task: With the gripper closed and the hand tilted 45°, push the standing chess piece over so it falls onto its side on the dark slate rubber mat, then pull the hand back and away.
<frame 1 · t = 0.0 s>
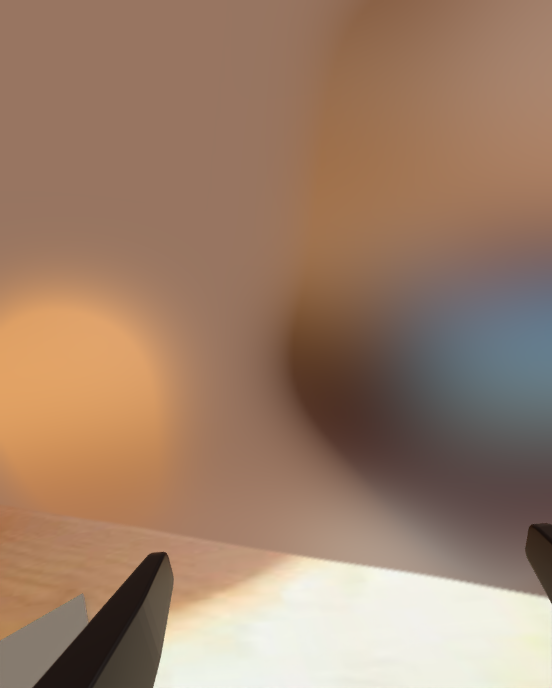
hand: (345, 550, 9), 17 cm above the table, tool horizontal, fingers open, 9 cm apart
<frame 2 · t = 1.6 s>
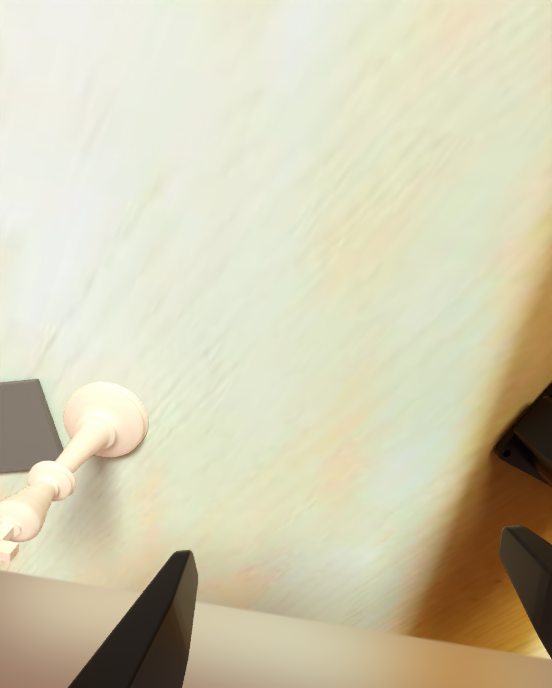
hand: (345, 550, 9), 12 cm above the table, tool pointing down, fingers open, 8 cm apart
chess piece: (110, 416, 22), on the table
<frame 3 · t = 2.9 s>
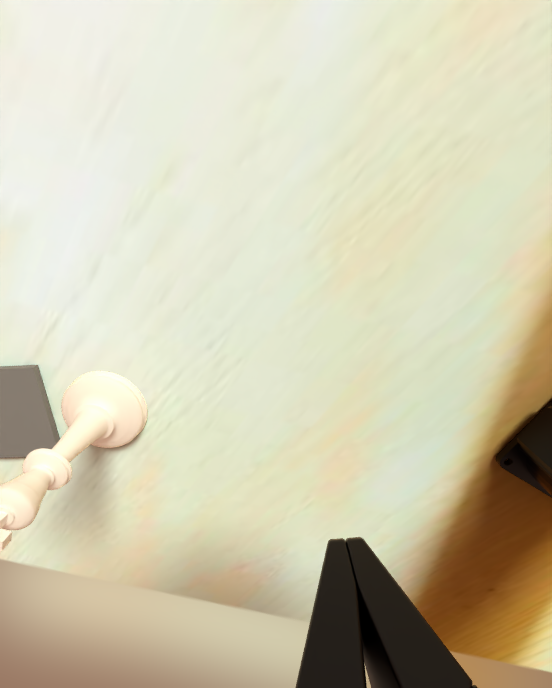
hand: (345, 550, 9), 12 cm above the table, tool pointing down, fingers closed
chess piece: (109, 406, 21), on the table
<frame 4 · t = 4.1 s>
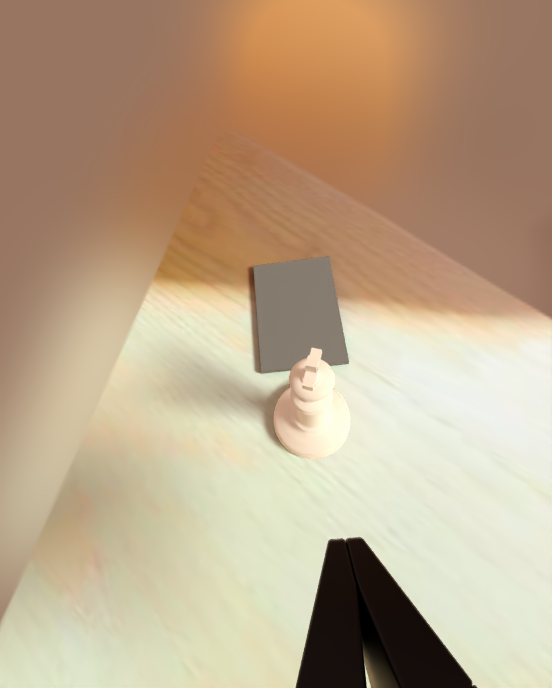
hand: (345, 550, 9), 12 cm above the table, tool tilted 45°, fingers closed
chess piece: (311, 419, 23), on the table
slate mat: (297, 312, 26), on the table
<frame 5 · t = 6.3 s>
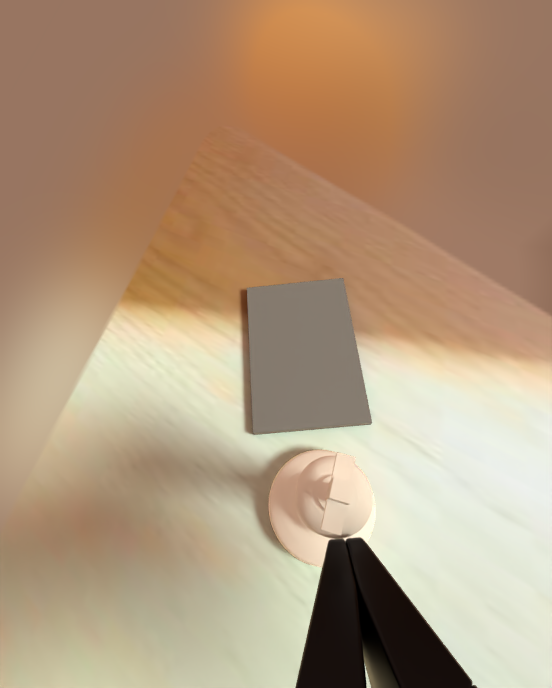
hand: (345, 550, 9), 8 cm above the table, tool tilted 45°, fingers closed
chess piece: (320, 504, 16), on the table, touching gripper
slate mat: (302, 350, 20), on the table
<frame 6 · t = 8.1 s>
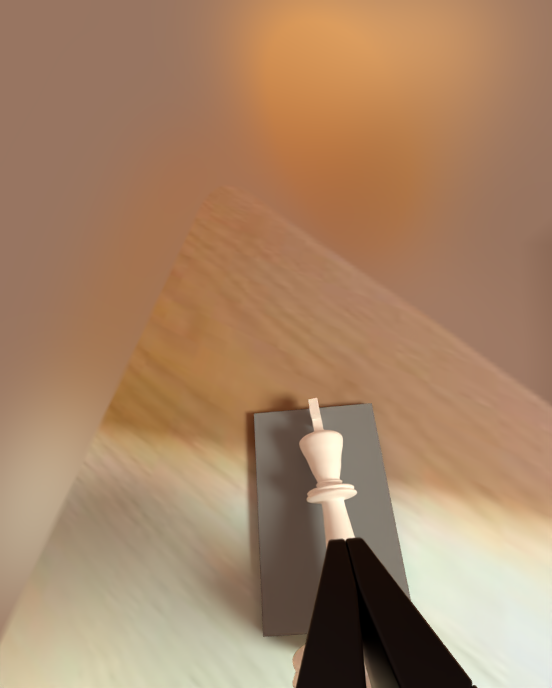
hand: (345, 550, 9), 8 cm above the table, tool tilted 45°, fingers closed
chess piece: (368, 683, 11), point 3 cm above the table, touching slate mat
slate mat: (323, 505, 16), on the table
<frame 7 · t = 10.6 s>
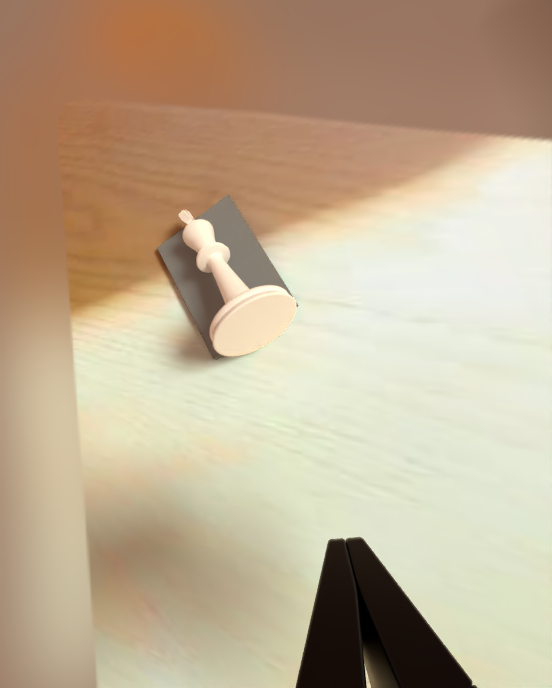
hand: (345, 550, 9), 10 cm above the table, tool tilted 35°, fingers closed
chess piece: (258, 330, 18), point 3 cm above the table, touching slate mat
slate mat: (224, 275, 22), on the table
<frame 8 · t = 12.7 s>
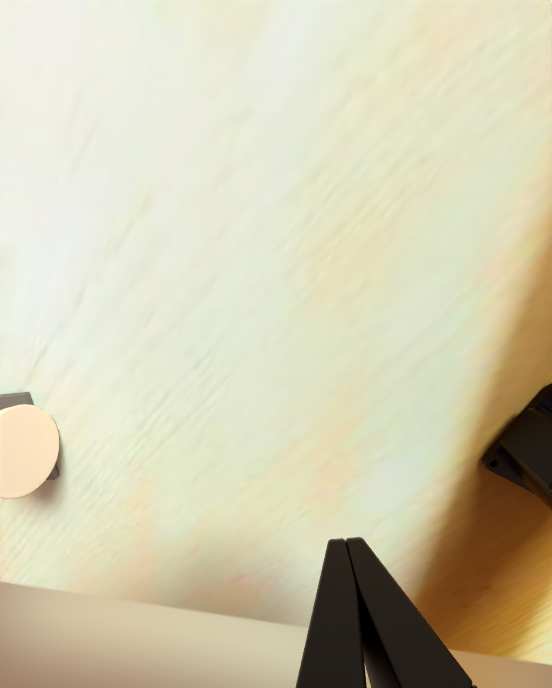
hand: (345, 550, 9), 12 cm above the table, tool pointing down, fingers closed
chess piece: (26, 449, 19), point 3 cm above the table, touching slate mat
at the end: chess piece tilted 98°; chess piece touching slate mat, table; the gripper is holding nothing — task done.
